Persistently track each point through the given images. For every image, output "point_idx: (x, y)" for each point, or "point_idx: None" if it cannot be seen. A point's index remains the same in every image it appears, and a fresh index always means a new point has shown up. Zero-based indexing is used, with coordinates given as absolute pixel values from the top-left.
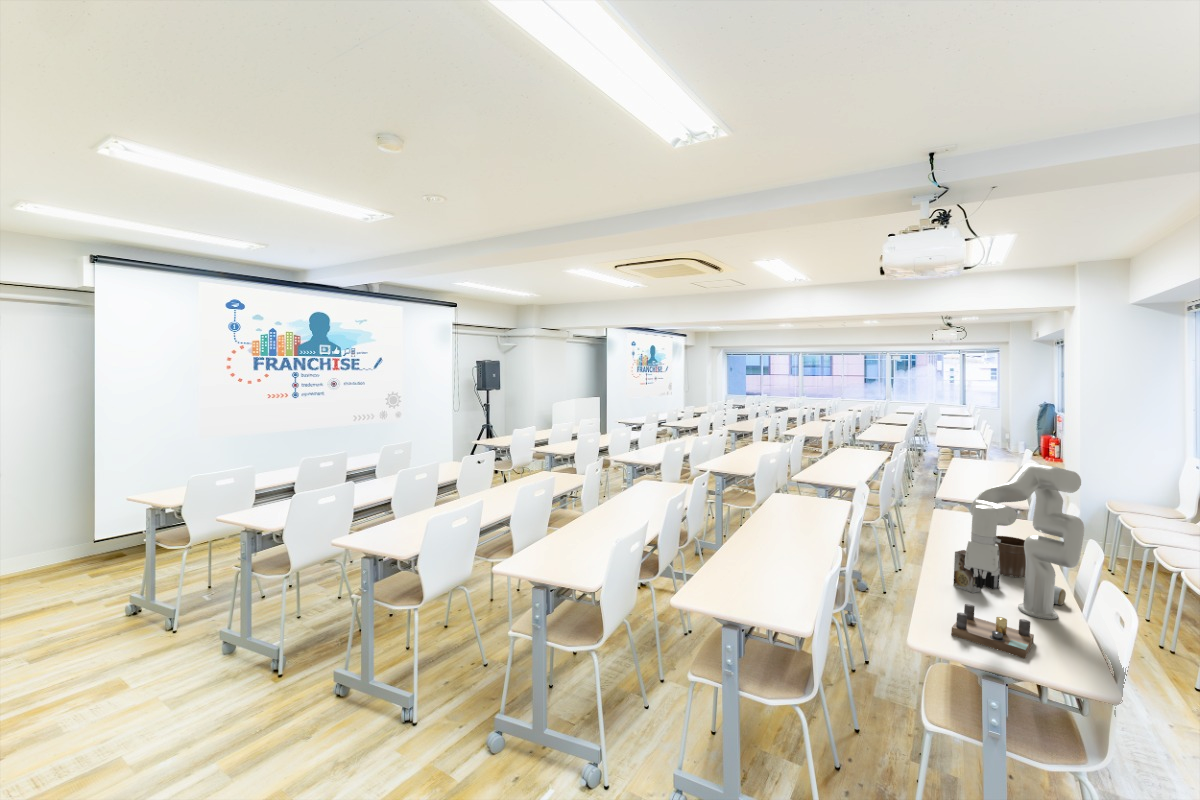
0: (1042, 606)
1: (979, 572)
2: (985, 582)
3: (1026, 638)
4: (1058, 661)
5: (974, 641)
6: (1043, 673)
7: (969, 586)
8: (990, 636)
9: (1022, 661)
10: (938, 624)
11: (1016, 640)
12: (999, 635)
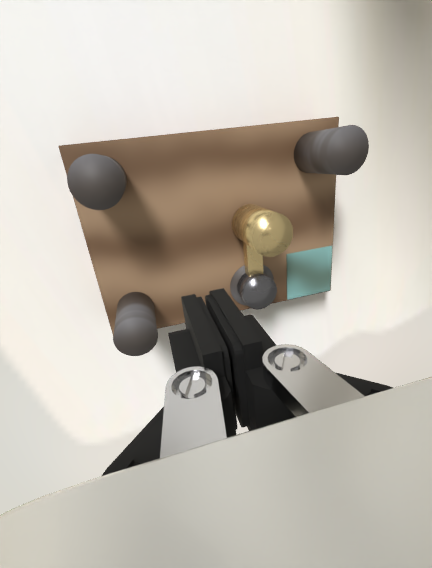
0: None
1: (221, 403)
2: (261, 332)
3: (322, 188)
4: (383, 212)
5: None
6: (355, 320)
7: None
8: (232, 291)
9: (311, 303)
10: (33, 278)
11: (299, 241)
12: (268, 304)
